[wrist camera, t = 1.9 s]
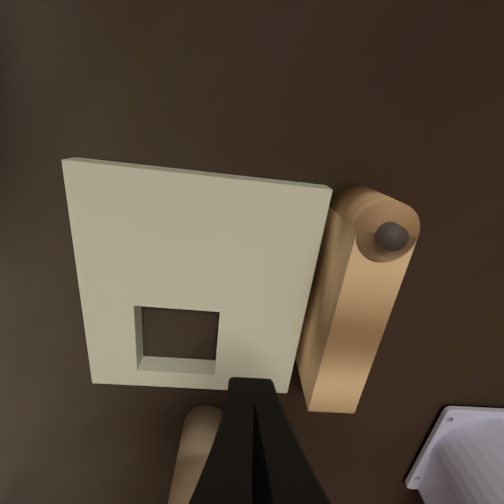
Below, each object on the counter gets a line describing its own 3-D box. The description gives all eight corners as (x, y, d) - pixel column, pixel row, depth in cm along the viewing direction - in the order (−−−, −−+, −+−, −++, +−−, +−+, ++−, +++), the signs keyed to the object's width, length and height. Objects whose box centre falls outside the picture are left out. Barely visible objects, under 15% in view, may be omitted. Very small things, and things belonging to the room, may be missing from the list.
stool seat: (284, 378, 19) (287, 393, 18) (101, 367, 18) (92, 383, 17) (325, 185, 14) (332, 189, 13) (76, 157, 13) (61, 159, 12)
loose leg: (227, 435, 22) (221, 566, 15) (184, 434, 21) (159, 565, 15) (230, 405, 20) (226, 533, 14) (185, 403, 20) (158, 532, 14)
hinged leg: (333, 180, 14) (372, 202, 10) (381, 186, 15) (439, 210, 10) (294, 355, 19) (310, 421, 14) (332, 357, 19) (358, 424, 15)
